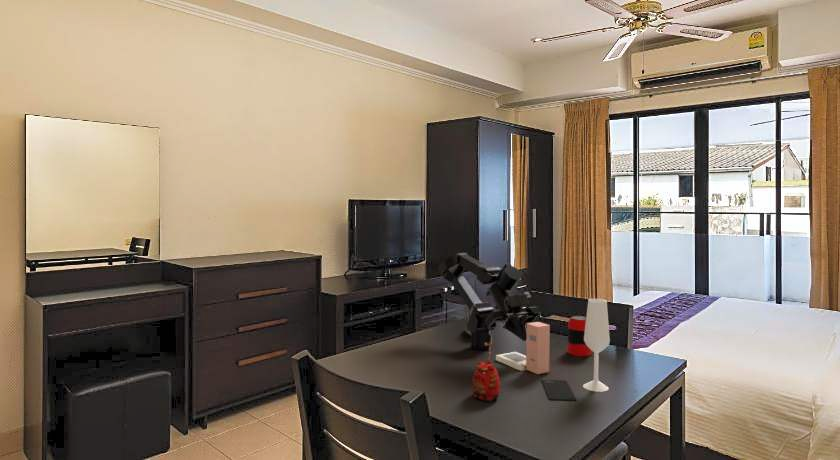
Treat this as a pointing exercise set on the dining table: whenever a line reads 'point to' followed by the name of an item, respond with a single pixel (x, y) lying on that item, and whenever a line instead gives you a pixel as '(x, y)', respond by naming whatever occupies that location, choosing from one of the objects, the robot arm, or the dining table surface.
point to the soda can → (577, 337)
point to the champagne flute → (596, 337)
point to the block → (537, 347)
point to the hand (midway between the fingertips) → (525, 340)
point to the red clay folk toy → (486, 380)
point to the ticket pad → (513, 360)
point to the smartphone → (558, 390)
